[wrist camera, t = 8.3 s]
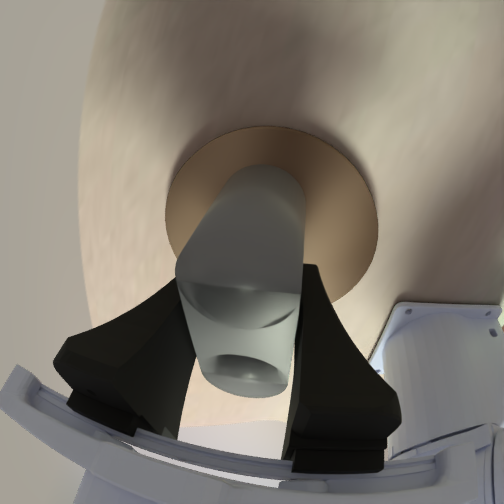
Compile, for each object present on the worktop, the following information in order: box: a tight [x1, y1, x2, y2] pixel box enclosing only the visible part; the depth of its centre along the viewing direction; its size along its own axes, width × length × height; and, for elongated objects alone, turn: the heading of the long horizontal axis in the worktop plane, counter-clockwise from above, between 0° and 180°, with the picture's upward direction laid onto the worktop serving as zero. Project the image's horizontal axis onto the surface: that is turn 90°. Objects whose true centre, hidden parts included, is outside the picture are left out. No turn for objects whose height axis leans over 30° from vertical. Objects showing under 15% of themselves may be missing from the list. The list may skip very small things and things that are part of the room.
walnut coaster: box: [165, 126, 378, 303], centre depth 15 cm, size 11×11×1 cm
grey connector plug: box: [175, 164, 306, 398], centre depth 12 cm, size 11×4×5 cm, turn 1°
